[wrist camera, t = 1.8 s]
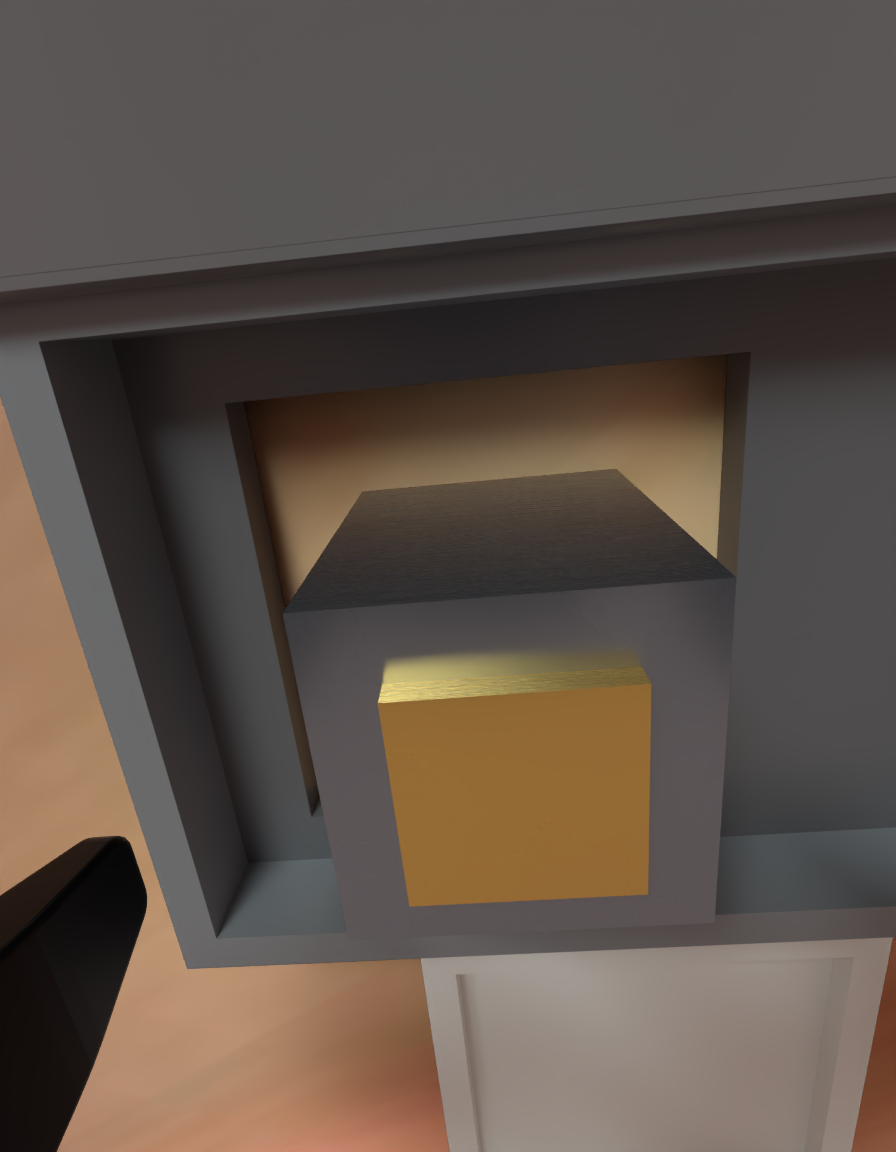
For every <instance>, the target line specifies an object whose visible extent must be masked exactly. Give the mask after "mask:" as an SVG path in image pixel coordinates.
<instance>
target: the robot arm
mask: <svg viewBox="0 0 896 1152" xmlns="http://www.w3.org/2000/svg"><path fill="white" fill-rule="evenodd" d="M146 907H147V893H146V888H145V885H144V882H143V879H142V876H141V873H140V870H139V867H138V864H137V861H136V858H135V855H134V852H133V850H132V847H131V844H130V842H129V841H128V840H127V839H126V838H124V837H121V836H107V837H92V838H87V839H85V840H83V841H81V842H79V843H78V844H76V845H75V846H73V847H72V848H70V849H69V850H67V851H66V852H64V853H63V854H62V855H60V856H59V857H57V858H56V859H54V860H53V861H51V862H50V863H48V864H47V865H45V866H44V867H42V868H41V869H39V870H38V871H36V872H35V873H33V874H32V875H30V876H29V877H27V878H26V879H24V880H23V881H21V882H20V883H18V884H17V885H15V886H14V887H12V888H11V889H9V890H8V891H6V892H5V893H3V894H2V895H0V1152H57V1150H58V1148H59V1145H60V1143H61V1141H62V1138H63V1136H64V1134H65V1131H66V1129H67V1127H68V1125H69V1122H70V1120H71V1118H72V1115H73V1113H74V1111H75V1109H76V1106H77V1104H78V1102H79V1099H80V1097H81V1095H82V1092H83V1090H84V1088H85V1085H86V1083H87V1080H88V1078H89V1076H90V1073H91V1071H92V1068H93V1066H94V1063H95V1060H96V1058H97V1055H98V1052H99V1049H100V1047H101V1044H102V1041H103V1038H104V1035H105V1032H106V1030H107V1027H108V1024H109V1021H110V1018H111V1015H112V1012H113V1009H114V1006H115V1003H116V1000H117V997H118V994H119V991H120V988H121V985H122V982H123V979H124V976H125V973H126V970H127V967H128V964H129V961H130V958H131V955H132V952H133V949H134V947H135V944H136V941H137V938H138V935H139V932H140V929H141V926H142V923H143V920H144V917H145V913H146Z"/></svg>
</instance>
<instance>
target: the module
mask: <svg viewBox="0 0 896 1152" xmlns="http://www.w3.org/2000/svg"><path fill="white" fill-rule="evenodd" d="M736 580H737V577H735V576H734V575H733V574H732V573H731V572H730V571H729V570H728V569H727V568H726V567H724V566H723V565H722V564H721V563H720V562H719V561H718V560H717V559H716V558H714V557H713V556H712V555H711V554H710V553H709V552H708V551H707V550H706V549H704V548H703V547H702V546H701V545H700V544H699V543H698V542H697V541H696V540H695V539H693V538H692V537H691V536H690V535H689V534H688V533H687V532H686V531H685V530H683V529H682V528H681V527H680V526H679V525H678V524H677V523H676V522H675V521H673V520H672V519H671V518H670V517H669V516H668V515H667V514H666V513H665V512H664V511H662V510H661V509H660V508H659V507H658V506H657V505H656V504H655V503H654V502H652V501H651V500H650V499H649V498H648V497H647V496H646V495H645V494H644V493H642V492H641V491H640V490H639V489H638V488H637V487H636V486H635V485H634V484H632V483H631V482H630V481H629V480H628V479H627V478H626V477H625V476H624V475H623V474H621V473H620V472H619V471H618V470H617V469H610V470H599V471H588V472H577V473H566V474H554V475H543V476H532V477H521V478H510V479H499V480H487V481H476V482H465V483H454V484H443V485H431V486H420V487H409V488H398V489H387V490H376V491H364V492H362V493H361V495H360V496H359V498H358V499H357V501H356V502H355V504H354V505H353V507H352V508H351V510H350V511H349V513H348V515H347V516H346V518H345V519H344V521H343V522H342V524H341V525H340V527H339V528H338V530H337V531H336V533H335V534H334V536H333V537H332V539H331V540H330V542H329V543H328V545H327V546H326V548H325V549H324V551H323V553H322V554H321V556H320V557H319V559H318V560H317V562H316V563H315V565H314V566H313V568H312V569H311V571H310V572H309V574H308V575H307V577H306V578H305V580H304V581H303V583H302V584H301V586H300V588H299V589H298V591H297V592H296V594H295V595H294V597H293V598H292V600H291V601H290V603H289V604H288V606H287V607H286V609H285V610H284V612H283V618H284V623H285V628H286V633H287V638H288V643H289V648H290V653H291V658H292V663H293V667H294V672H295V677H296V682H297V687H298V692H299V697H300V702H301V707H302V712H303V717H304V722H305V726H306V731H307V736H308V741H309V746H310V751H311V756H312V761H313V766H314V771H315V776H316V781H317V785H318V790H319V795H320V800H321V805H322V810H323V815H324V820H325V825H326V830H327V835H328V840H329V844H330V849H331V854H332V859H333V864H334V869H335V874H336V879H337V884H338V889H339V894H340V899H341V903H342V908H343V913H344V918H345V923H346V928H347V933H348V938H349V941H350V940H370V939H391V938H412V937H433V936H454V935H474V934H495V933H516V932H537V931H558V930H578V929H599V928H620V927H641V926H662V925H682V924H703V923H715V908H716V892H717V877H718V861H719V846H720V830H721V814H722V799H723V783H724V767H725V752H726V736H727V720H728V705H729V689H730V674H731V658H732V642H733V627H734V611H735V595H736Z"/></svg>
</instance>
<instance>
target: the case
mask: <svg viewBox="0 0 896 1152" xmlns="http://www.w3.org/2000/svg"><path fill="white" fill-rule="evenodd" d="M722 354H728V363H727V382H726V401H725V420H724V439H723V458H722V477H721V496H720V516H719V535H718V554H717V560H718V561H719V562H720V563H721V564H722V565H723V566H724V567H726V568H727V569H728V570H729V571H730V572H731V573H732V574H733V575H734V576H735V577H737V580H736V595H735V611H734V627H733V642H732V658H731V674H730V689H729V705H728V720H727V736H726V752H725V767H724V783H723V799H722V814H721V830H720V846H719V861H718V877H717V892H716V908H715V923H703V924H682V925H662V926H641V927H620V928H599V929H578V930H558V931H537V932H516V933H495V934H474V935H454V936H433V937H412V938H391V939H370V940H350V941H349V938H348V933H347V928H346V923H345V918H344V913H343V908H342V903H341V899H340V894H339V889H338V884H337V879H336V874H335V869H334V864H333V859H332V854H331V849H330V844H329V840H328V835H327V830H326V825H325V820H324V815H323V810H322V805H321V800H320V795H319V790H318V785H317V781H316V776H315V771H314V766H313V761H312V756H311V751H310V746H309V741H308V736H307V731H306V726H305V722H304V717H303V712H302V707H301V702H300V697H299V692H298V687H297V682H296V677H295V672H294V667H293V663H292V658H291V653H290V648H289V643H288V638H287V633H286V628H285V623H284V618H283V612H284V610H285V606H284V601H283V596H282V591H281V586H280V581H279V576H278V571H277V566H276V560H275V555H274V550H273V545H272V540H271V535H270V530H269V525H268V520H267V515H266V510H265V505H264V500H263V495H262V490H261V485H260V480H259V475H258V470H257V465H256V460H255V455H254V450H253V445H252V440H251V435H250V430H249V425H248V420H247V415H246V410H245V405H244V401H253V400H263V399H274V398H284V397H294V396H304V395H314V394H325V393H335V392H345V391H355V390H365V389H376V388H386V387H396V386H406V385H416V384H427V383H437V382H447V381H457V380H467V379H478V378H488V377H498V376H508V375H518V374H529V373H539V372H549V371H559V370H569V369H579V368H590V367H600V366H610V365H620V364H630V363H641V362H651V361H661V360H671V359H681V358H692V357H702V356H712V355H722ZM0 397H1V400H2V403H3V406H4V409H5V412H6V415H7V418H8V421H9V424H10V427H11V430H12V433H13V436H14V440H15V443H16V446H17V449H18V452H19V455H20V458H21V461H22V464H23V467H24V470H25V473H26V476H27V479H28V482H29V485H30V489H31V492H32V495H33V498H34V501H35V504H36V507H37V510H38V513H39V516H40V519H41V522H42V525H43V528H44V531H45V534H46V538H47V541H48V544H49V547H50V550H51V553H52V556H53V559H54V562H55V565H56V568H57V571H58V574H59V577H60V580H61V584H62V587H63V590H64V593H65V596H66V599H67V602H68V605H69V608H70V611H71V614H72V617H73V620H74V623H75V626H76V629H77V633H78V636H79V639H80V642H81V645H82V648H83V651H84V654H85V657H86V660H87V663H88V666H89V669H90V672H91V675H92V678H93V682H94V685H95V688H96V691H97V694H98V697H99V700H100V703H101V706H102V709H103V712H104V715H105V718H106V721H107V724H108V728H109V731H110V734H111V737H112V740H113V743H114V746H115V749H116V752H117V755H118V758H119V761H120V764H121V767H122V770H123V773H124V777H125V780H126V783H127V786H128V789H129V792H130V795H131V798H132V801H133V804H134V807H135V810H136V813H137V816H138V819H139V822H140V826H141V829H142V832H143V835H144V838H145V841H146V844H147V847H148V850H149V853H150V856H151V859H152V862H153V865H154V868H155V871H156V875H157V878H158V881H159V884H160V887H161V890H162V893H163V896H164V899H165V902H166V905H167V908H168V911H169V914H170V917H171V921H172V924H173V927H174V930H175V933H176V936H177V939H178V942H179V945H180V948H181V951H182V954H183V957H184V960H185V963H186V966H187V969H198V968H221V967H243V966H265V965H287V964H310V963H332V962H354V961H376V960H399V959H421V958H443V957H466V956H488V955H510V954H532V953H555V952H577V951H599V950H621V949H644V948H666V947H688V946H710V945H733V944H755V943H777V942H799V941H822V940H844V939H866V938H888V937H896V0H0Z"/></svg>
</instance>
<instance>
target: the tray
mask: <svg viewBox="0 0 896 1152" xmlns="http://www.w3.org/2000/svg"><path fill="white" fill-rule="evenodd" d="M892 939H893V937H888V938H866V939H844V940H822V941H799V942H777V943H755V944H733V945H710V946H688V947H666V948H644V949H621V950H599V951H577V952H555V953H532V954H510V955H488V956H466V957H443V958H421V965H422V972H423V978H424V985H425V992H426V998H427V1005H428V1011H429V1018H430V1025H431V1031H432V1038H433V1044H434V1051H435V1058H436V1064H437V1071H438V1077H439V1084H440V1091H441V1097H442V1104H443V1110H444V1117H445V1124H446V1130H447V1137H448V1143H449V1150H450V1152H851V1150H852V1145H853V1139H854V1134H855V1129H856V1124H857V1119H858V1114H859V1109H860V1103H861V1098H862V1093H863V1088H864V1083H865V1078H866V1073H867V1068H868V1062H869V1057H870V1052H871V1047H872V1042H873V1037H874V1032H875V1026H876V1021H877V1016H878V1011H879V1006H880V1001H881V996H882V991H883V985H884V980H885V975H886V970H887V965H888V960H889V955H890V950H891V944H892Z"/></svg>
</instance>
